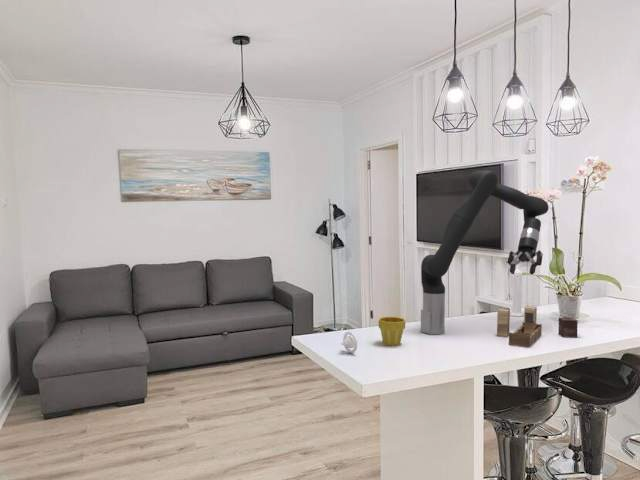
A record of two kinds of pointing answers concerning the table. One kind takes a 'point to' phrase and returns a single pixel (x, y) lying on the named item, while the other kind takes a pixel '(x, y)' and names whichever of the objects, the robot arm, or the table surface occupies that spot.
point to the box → (568, 327)
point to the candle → (516, 293)
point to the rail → (524, 336)
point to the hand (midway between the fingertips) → (521, 273)
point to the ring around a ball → (350, 342)
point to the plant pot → (391, 330)
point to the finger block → (503, 322)
